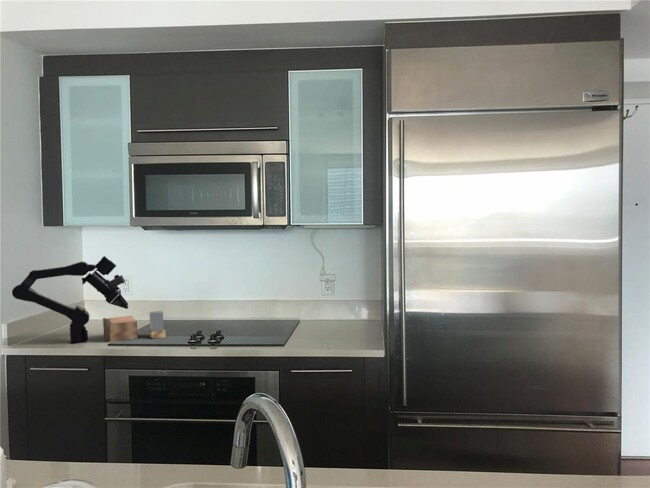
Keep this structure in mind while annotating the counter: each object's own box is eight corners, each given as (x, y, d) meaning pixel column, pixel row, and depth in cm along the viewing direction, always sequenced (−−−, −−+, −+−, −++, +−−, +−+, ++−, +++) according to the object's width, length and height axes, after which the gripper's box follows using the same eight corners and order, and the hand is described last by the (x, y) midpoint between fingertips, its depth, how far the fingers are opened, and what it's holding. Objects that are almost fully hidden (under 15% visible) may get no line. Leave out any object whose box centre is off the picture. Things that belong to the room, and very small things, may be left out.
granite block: (151, 331, 250) (150, 313, 249) (150, 329, 254) (149, 311, 254) (163, 330, 252) (162, 312, 251) (162, 328, 256) (161, 310, 256)
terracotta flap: (110, 324, 247) (109, 321, 246) (106, 320, 255) (106, 318, 255) (135, 321, 251) (135, 318, 251) (131, 317, 260) (130, 315, 260)
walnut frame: (108, 342, 245) (107, 322, 245) (103, 337, 256) (103, 318, 256) (137, 338, 251) (136, 319, 250) (132, 333, 262) (131, 315, 262)
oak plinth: (151, 339, 249) (151, 332, 249) (148, 336, 254) (148, 329, 254) (165, 337, 252) (165, 330, 252) (162, 334, 257) (162, 328, 257)
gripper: (112, 271, 243) (141, 295, 247) (113, 267, 261) (140, 290, 265) (93, 291, 241) (122, 315, 245) (95, 286, 258) (122, 308, 263)
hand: (127, 306), depth 255 cm, fingers open, 9 cm apart
